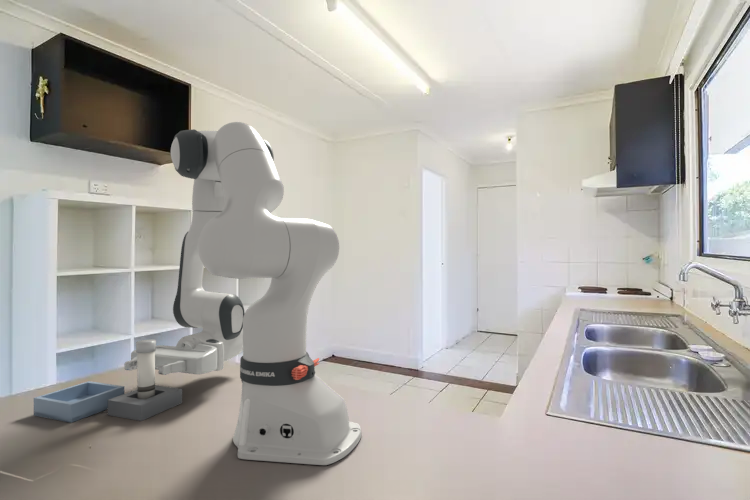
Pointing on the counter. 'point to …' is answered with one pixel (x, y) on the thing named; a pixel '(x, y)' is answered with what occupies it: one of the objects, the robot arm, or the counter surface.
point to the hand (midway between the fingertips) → (143, 368)
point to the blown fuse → (145, 368)
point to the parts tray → (76, 401)
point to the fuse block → (144, 403)
